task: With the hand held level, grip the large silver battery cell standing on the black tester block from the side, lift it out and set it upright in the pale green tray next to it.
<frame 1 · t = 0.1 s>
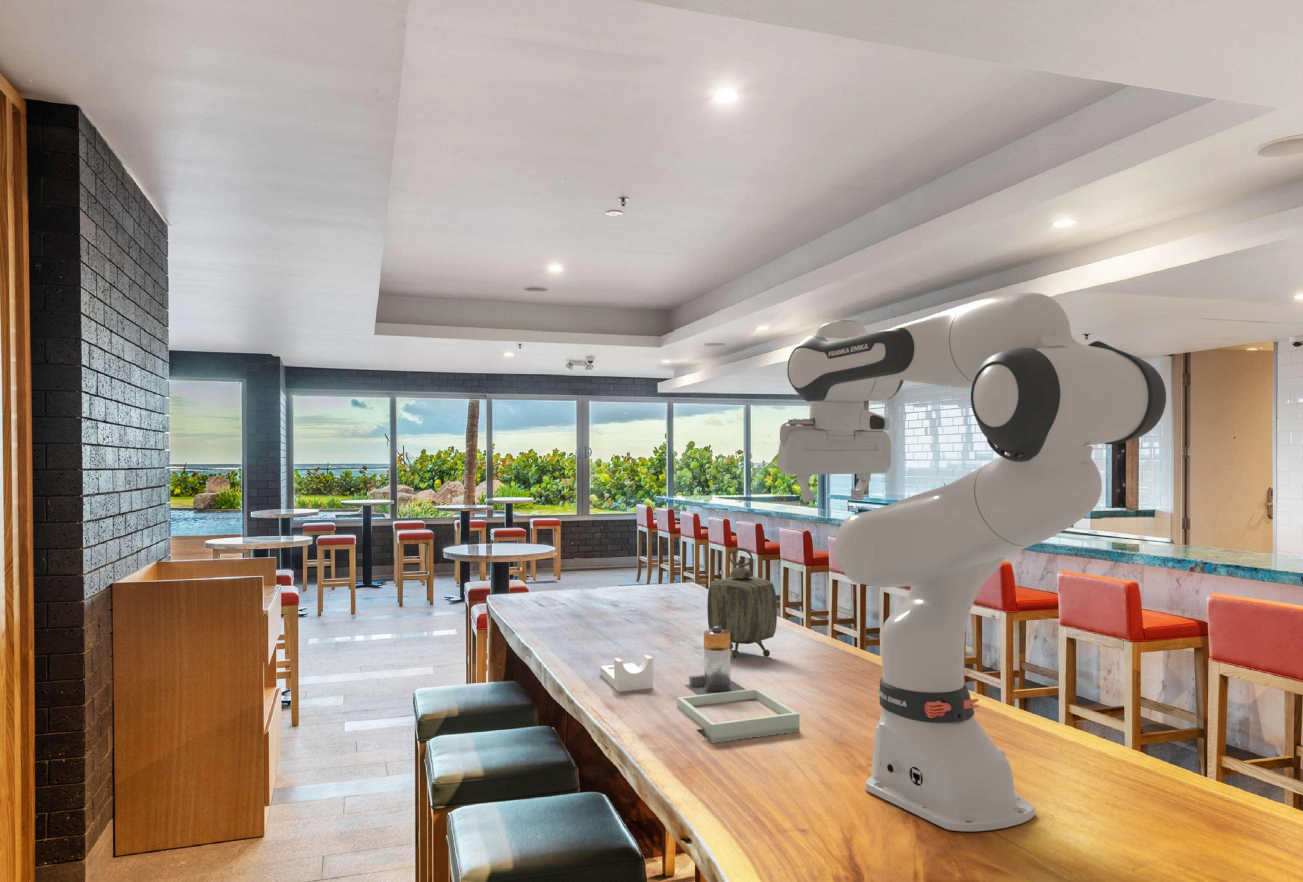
hand: (832, 500, 138), 39 cm above the table, tool pointing down, fingers open, 8 cm apart
tester block: (717, 696, 157), on the table
tabletop clock: (740, 656, 190), on the table
tray: (736, 722, 142), on the table
battery cell: (717, 689, 157), point 1 cm above the table, touching tester block
bracket: (626, 691, 164), on the table
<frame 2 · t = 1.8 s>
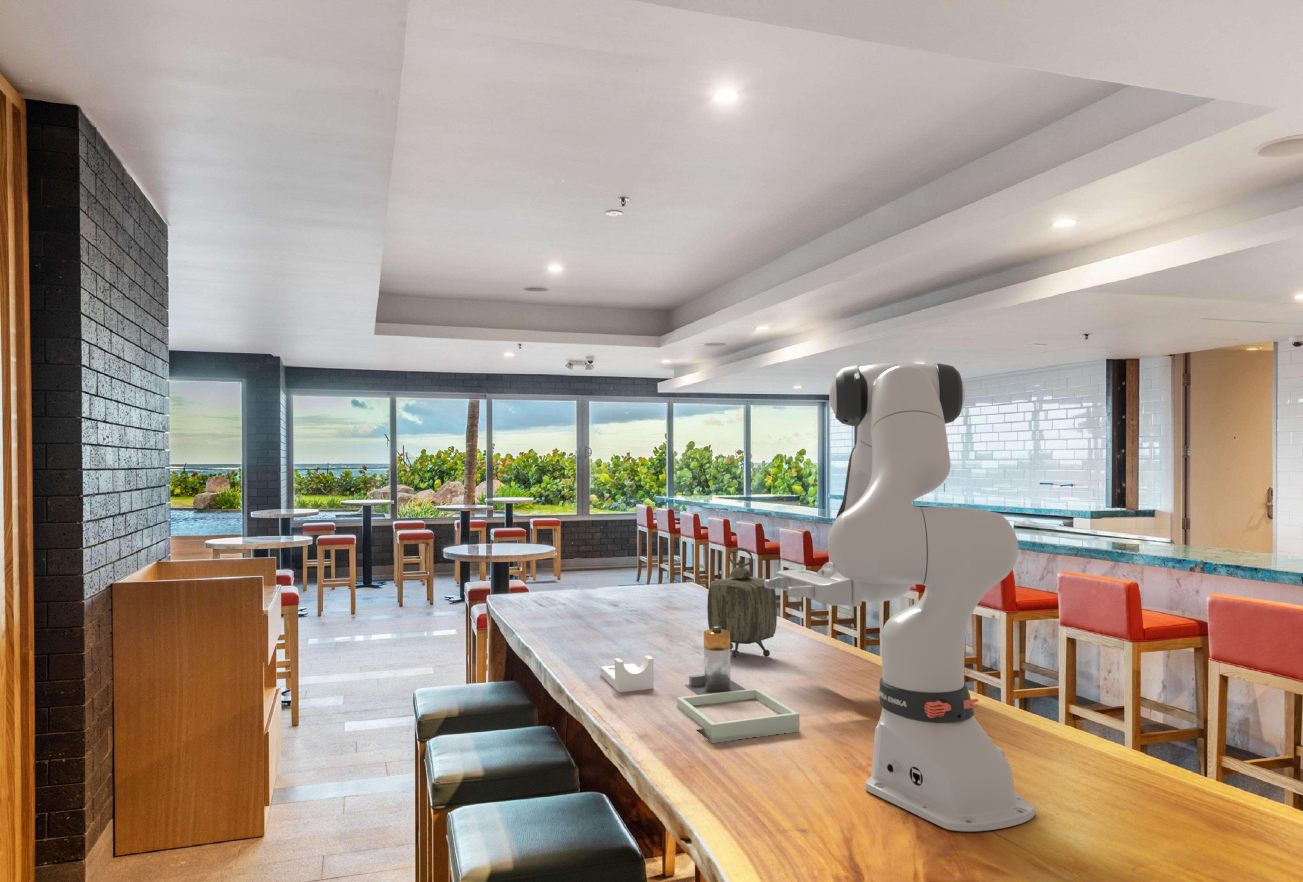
hand: (776, 588, 162), 20 cm above the table, tool horizontal, fingers open, 8 cm apart
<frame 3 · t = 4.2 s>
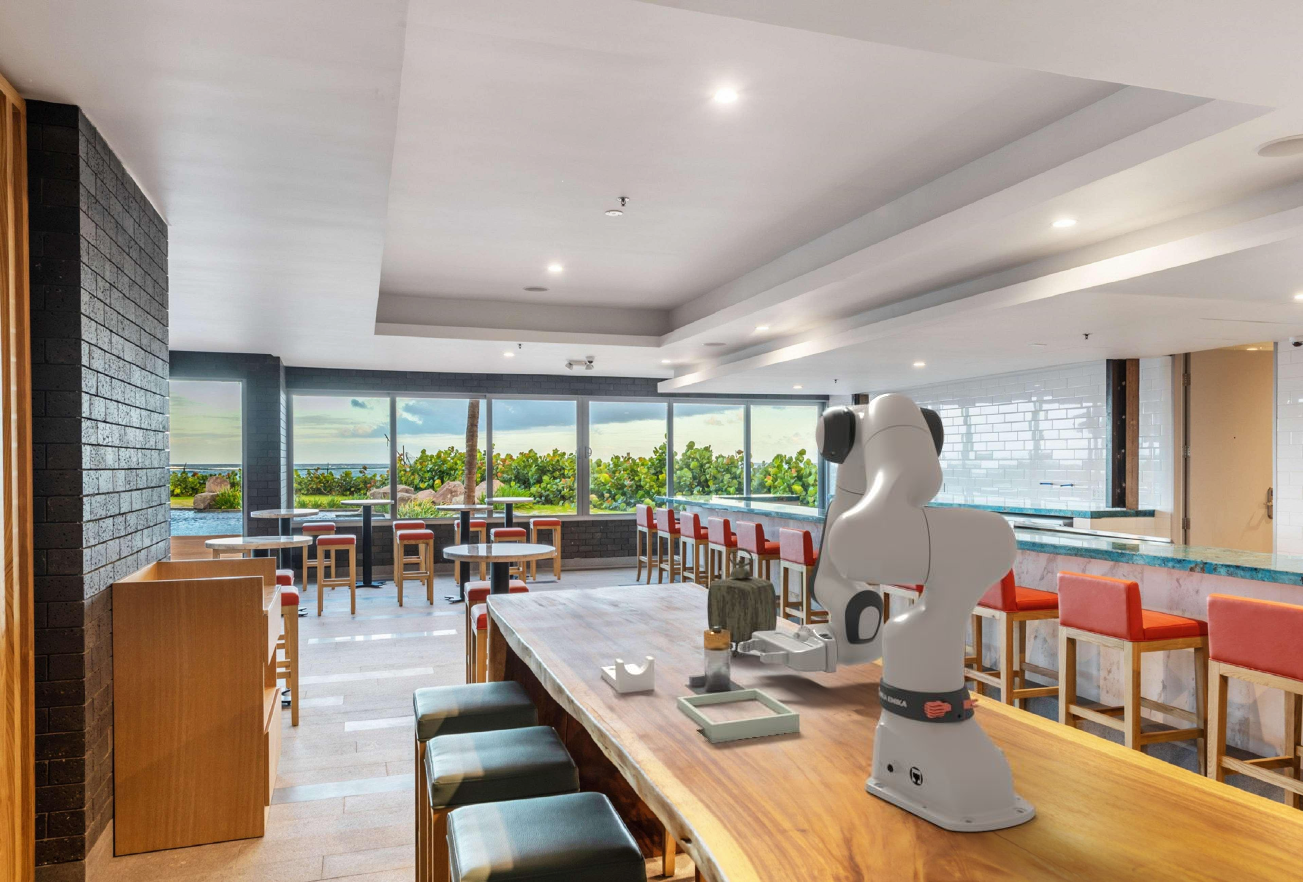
hand: (750, 652, 160), 8 cm above the table, tool horizontal, fingers open, 8 cm apart
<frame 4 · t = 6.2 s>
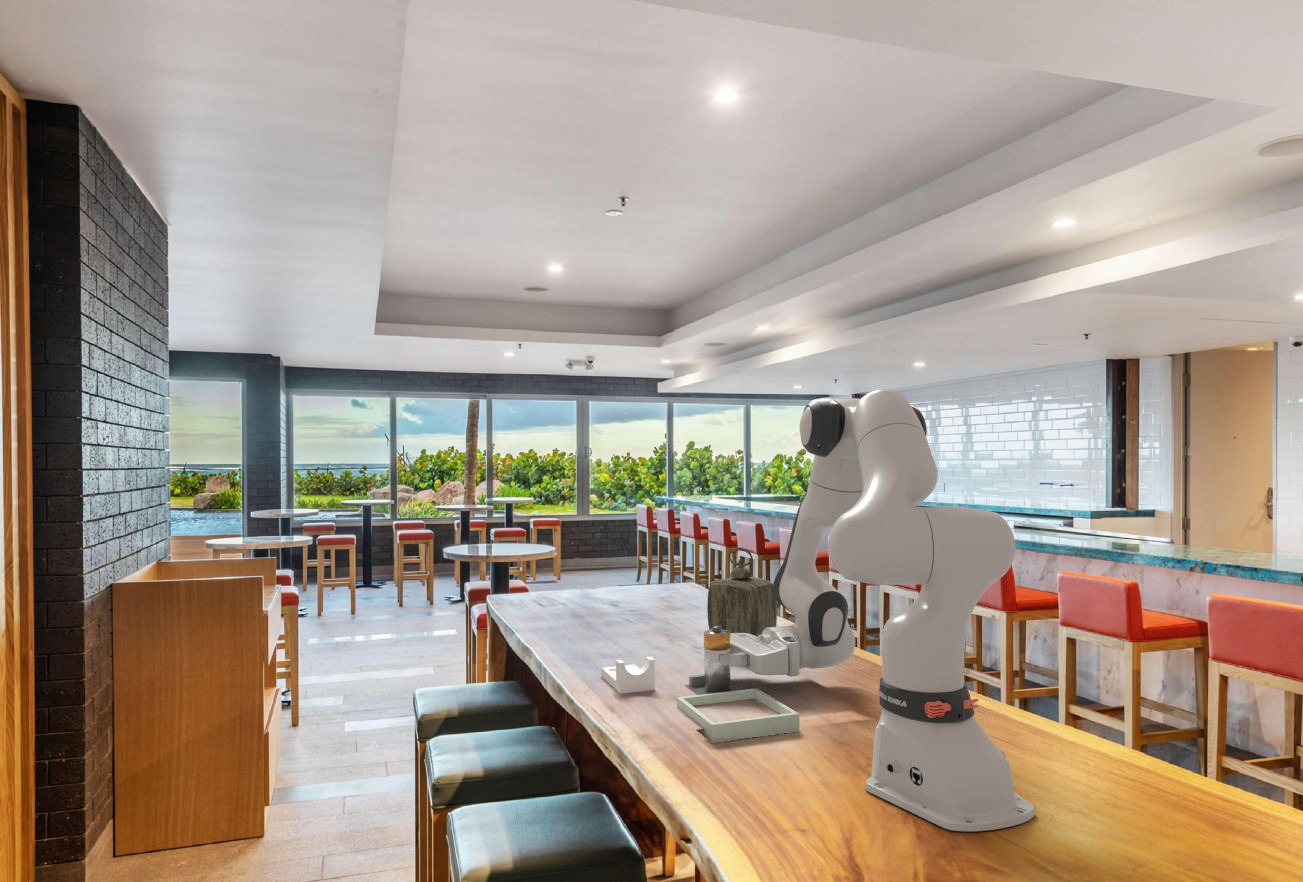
hand: (713, 655, 157), 8 cm above the table, tool horizontal, fingers closed on battery cell, 5 cm apart
battery cell: (717, 689, 157), point 1 cm above the table, touching gripper, tester block
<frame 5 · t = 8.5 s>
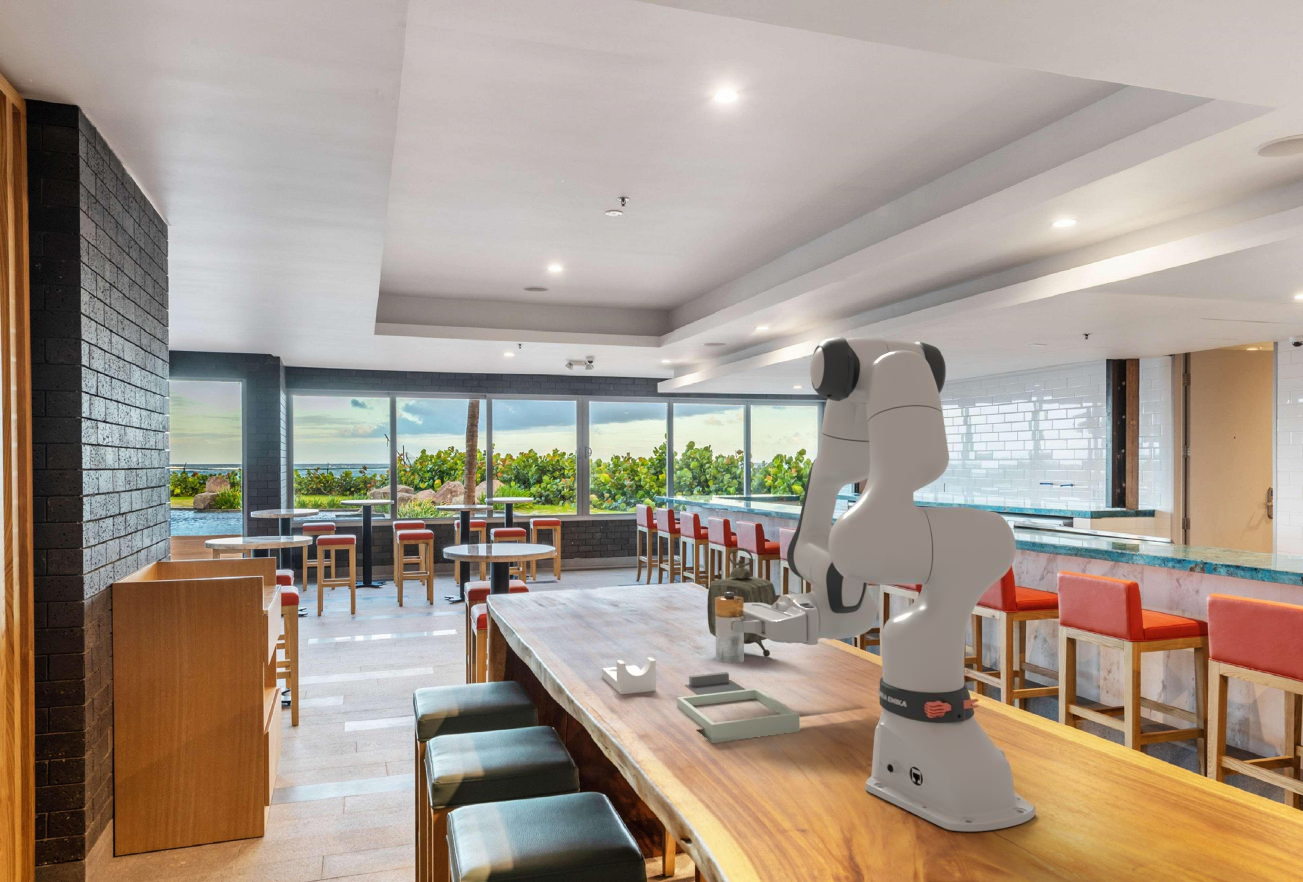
hand: (725, 623, 146), 16 cm above the table, tool horizontal, fingers closed on battery cell, 5 cm apart
battery cell: (730, 659, 146), point 10 cm above the table, touching gripper
when the fingers open (9 cm above the table, at t = 10.7 s): battery cell drops 2 cm, resting on tray.
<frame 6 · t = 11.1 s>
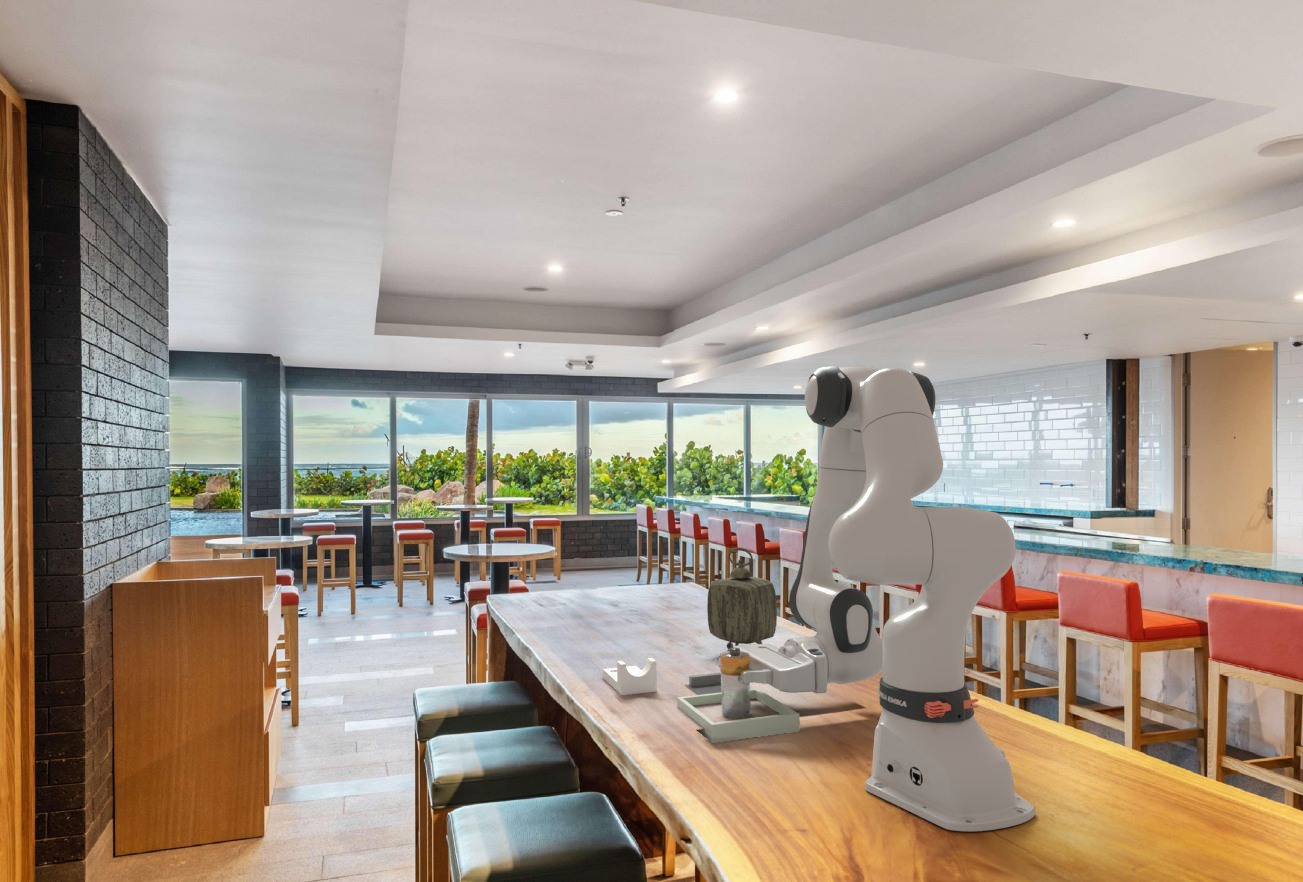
hand: (730, 670, 142), 9 cm above the table, tool horizontal, fingers open, 8 cm apart
battery cell: (736, 717, 142), point 1 cm above the table, touching tray
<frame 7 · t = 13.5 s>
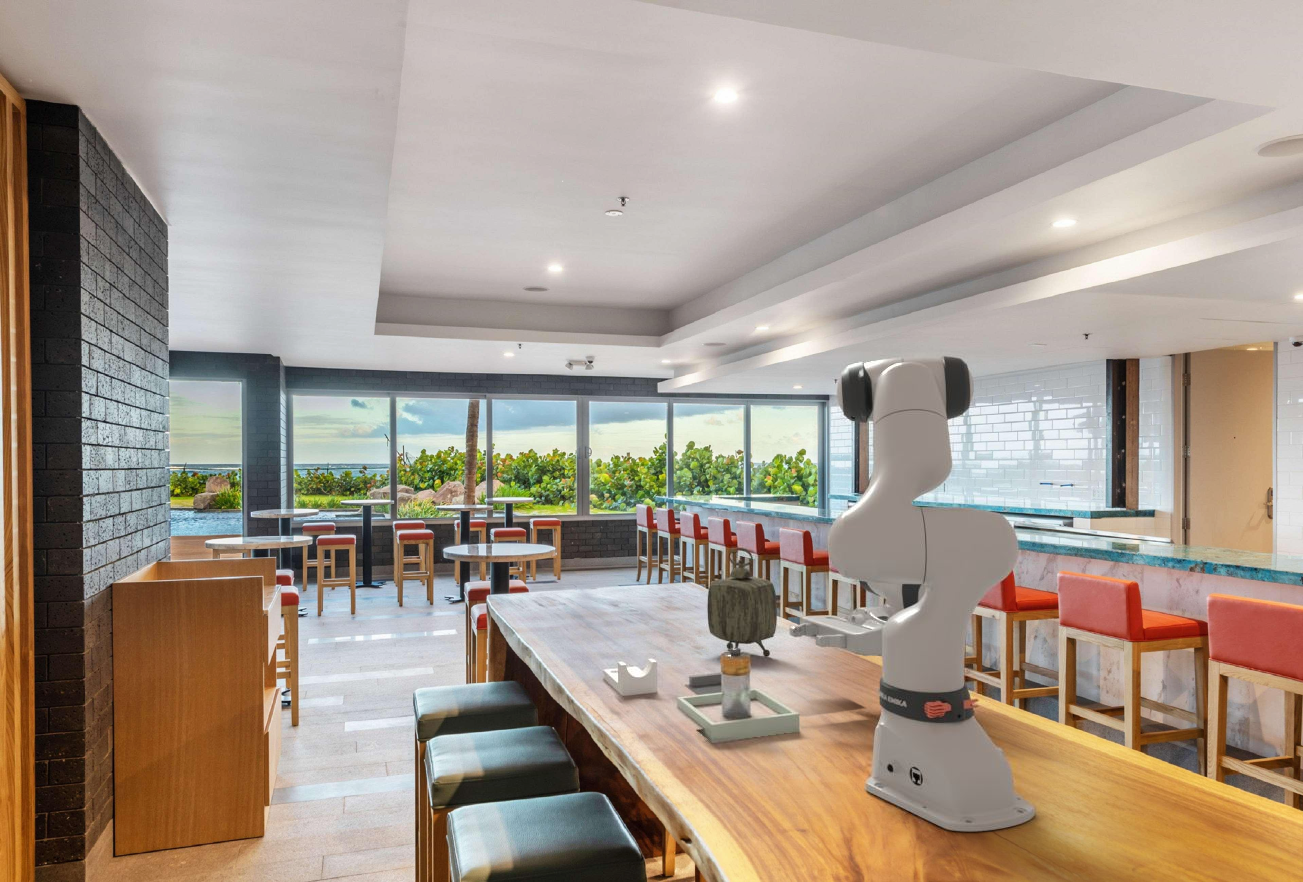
hand: (803, 636, 148), 14 cm above the table, tool horizontal, fingers open, 8 cm apart
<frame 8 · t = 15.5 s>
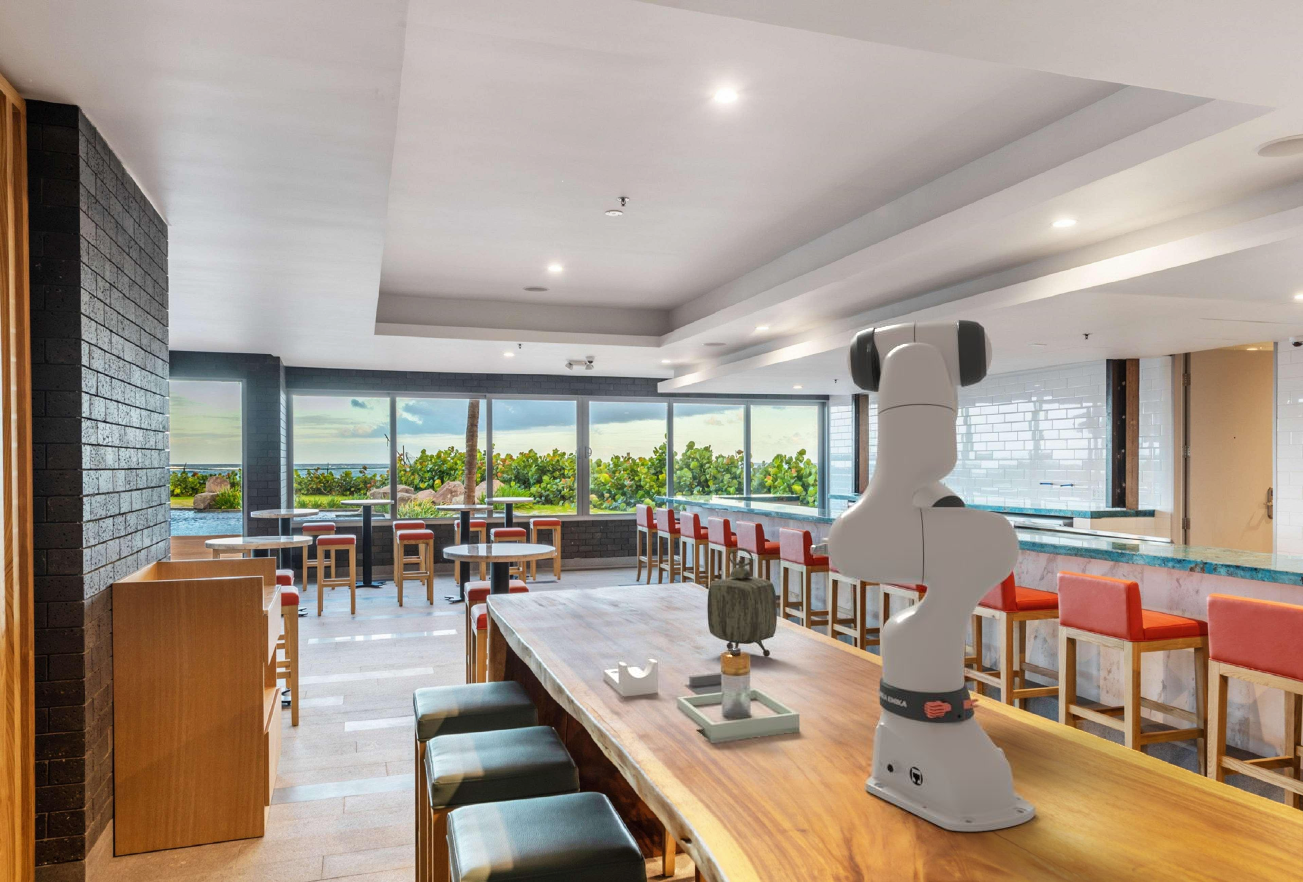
hand: (824, 553, 154), 28 cm above the table, tool horizontal, fingers open, 8 cm apart
at the end: battery cell inside the target area on the tray (0.0 cm from its centre), point 0.8 cm above the tray's base; battery cell tilted 0°; the gripper is holding nothing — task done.
